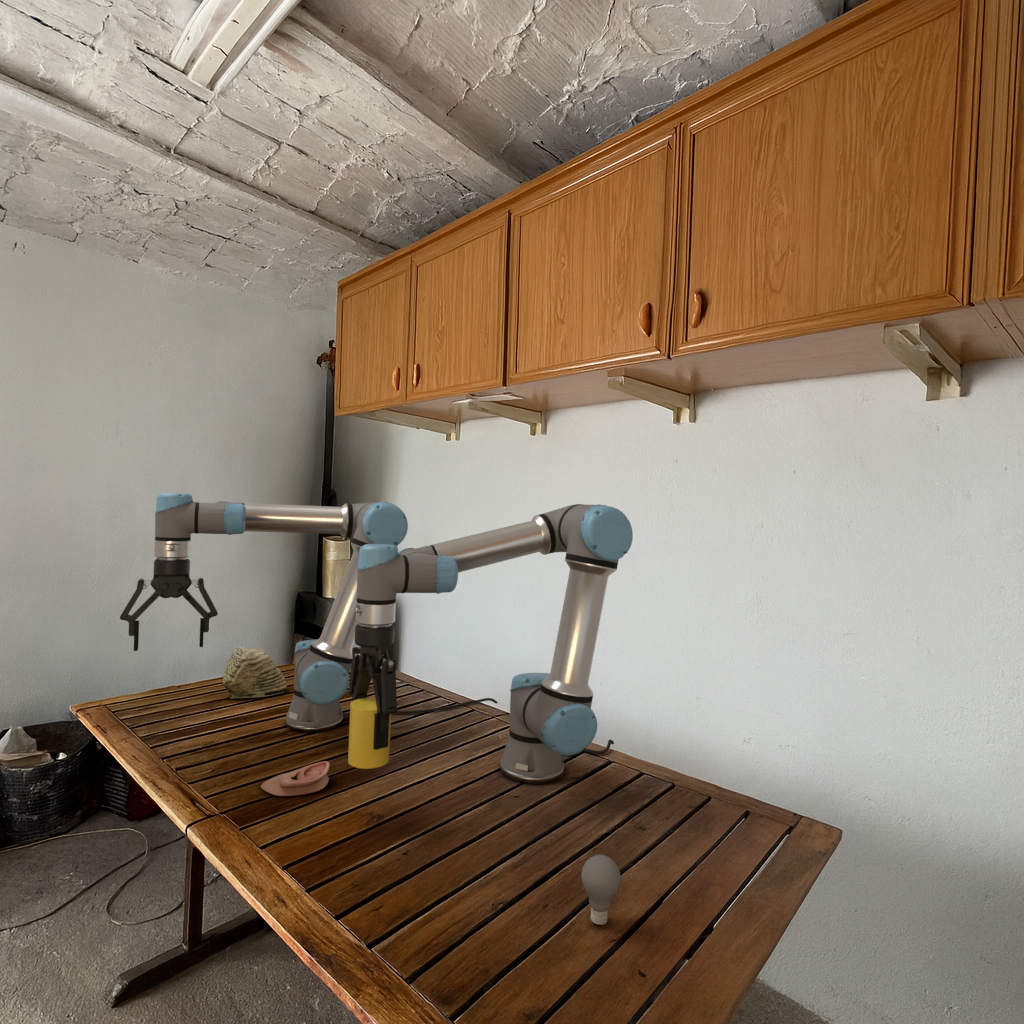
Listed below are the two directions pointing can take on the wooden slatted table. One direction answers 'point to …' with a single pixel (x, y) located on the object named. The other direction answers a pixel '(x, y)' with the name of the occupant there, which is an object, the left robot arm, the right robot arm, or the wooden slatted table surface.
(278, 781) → the anatomical model
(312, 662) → the left robot arm
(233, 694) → the fossil
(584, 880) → the light bulb
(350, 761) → the canister
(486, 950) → the wooden slatted table surface
